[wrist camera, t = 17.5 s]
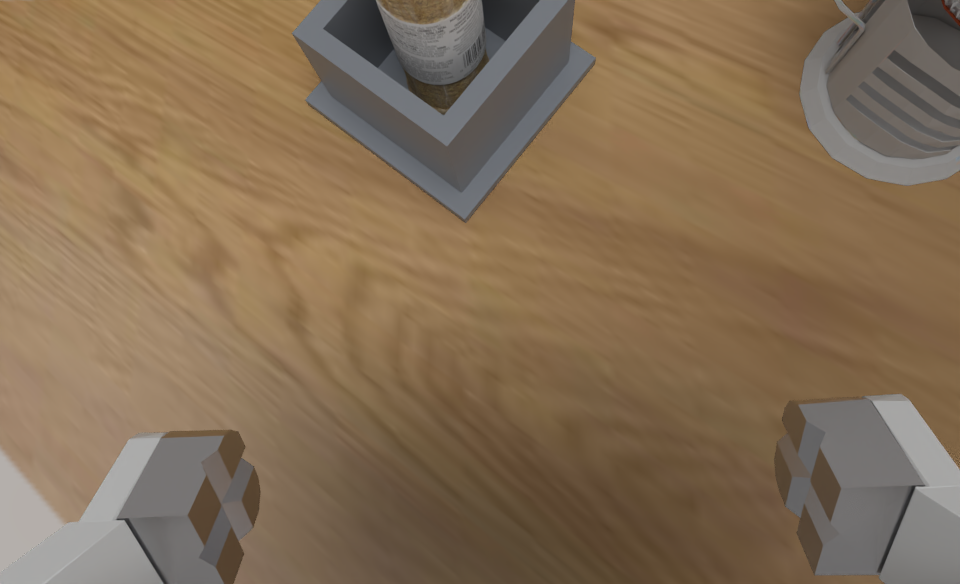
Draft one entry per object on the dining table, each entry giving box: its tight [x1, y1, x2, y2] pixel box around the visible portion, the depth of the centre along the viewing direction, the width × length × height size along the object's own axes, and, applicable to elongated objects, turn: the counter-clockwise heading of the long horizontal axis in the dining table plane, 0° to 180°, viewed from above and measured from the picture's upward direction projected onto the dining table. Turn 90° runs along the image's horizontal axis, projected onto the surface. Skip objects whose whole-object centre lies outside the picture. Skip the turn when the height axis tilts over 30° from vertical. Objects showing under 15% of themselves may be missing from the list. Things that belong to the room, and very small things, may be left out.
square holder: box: [292, 0, 596, 223], centre depth 33 cm, size 11×11×7 cm
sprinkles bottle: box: [376, 0, 489, 115], centre depth 29 cm, size 5×5×14 cm
